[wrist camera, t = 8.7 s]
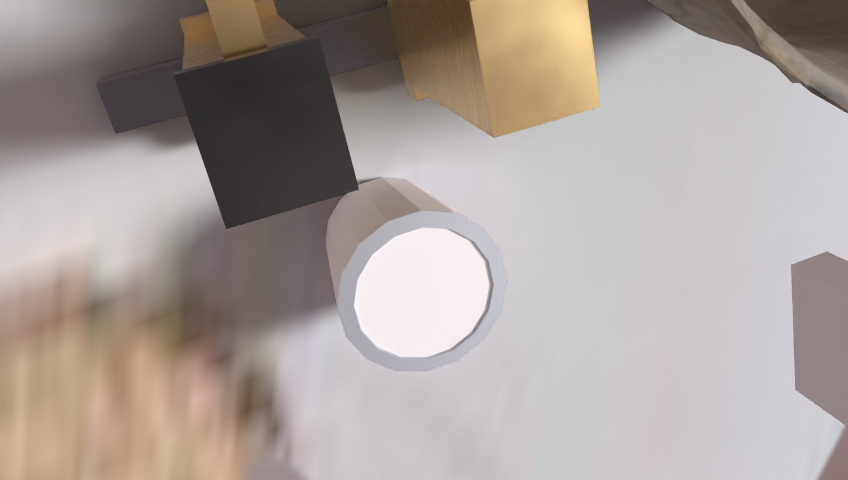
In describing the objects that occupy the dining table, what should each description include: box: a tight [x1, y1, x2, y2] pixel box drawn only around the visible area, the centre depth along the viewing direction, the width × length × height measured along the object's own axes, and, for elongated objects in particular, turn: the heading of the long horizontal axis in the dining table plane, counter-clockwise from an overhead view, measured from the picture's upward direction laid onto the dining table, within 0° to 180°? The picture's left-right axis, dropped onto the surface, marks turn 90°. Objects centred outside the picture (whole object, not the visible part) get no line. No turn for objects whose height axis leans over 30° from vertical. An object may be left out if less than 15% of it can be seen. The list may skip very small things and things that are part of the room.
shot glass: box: [325, 177, 507, 371], centre depth 33 cm, size 7×7×7 cm
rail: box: [97, 5, 399, 133], centre depth 32 cm, size 15×2×1 cm, turn 101°
